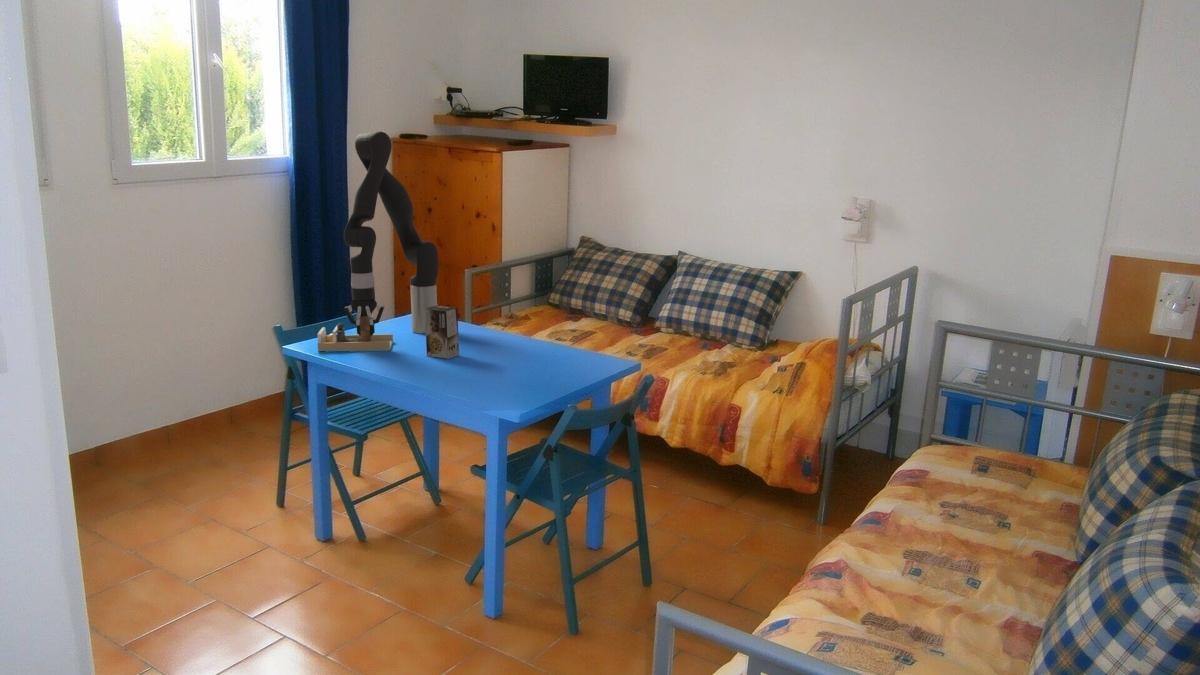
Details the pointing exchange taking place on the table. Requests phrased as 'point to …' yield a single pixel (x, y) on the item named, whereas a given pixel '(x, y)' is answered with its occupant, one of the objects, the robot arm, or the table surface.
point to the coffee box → (442, 331)
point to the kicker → (363, 329)
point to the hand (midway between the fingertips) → (365, 335)
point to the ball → (331, 338)
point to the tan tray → (360, 344)
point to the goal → (322, 335)
